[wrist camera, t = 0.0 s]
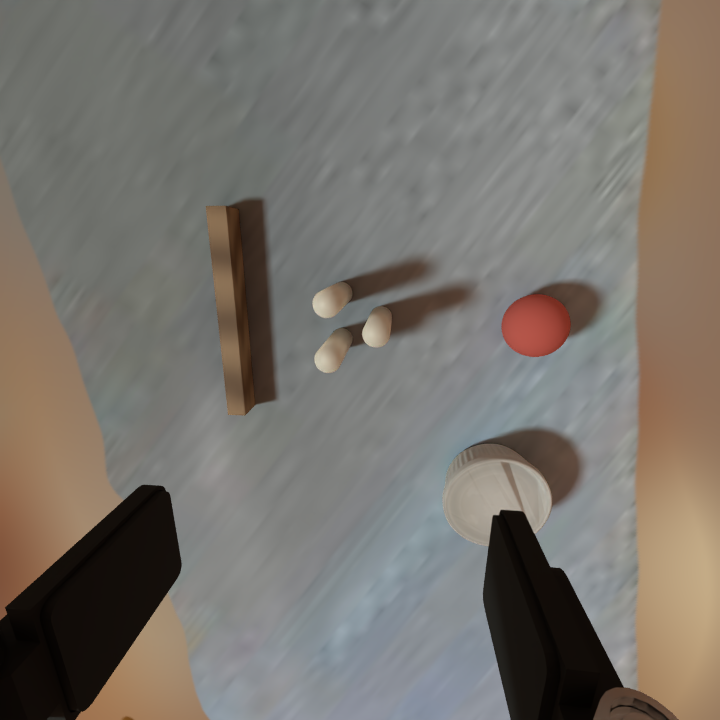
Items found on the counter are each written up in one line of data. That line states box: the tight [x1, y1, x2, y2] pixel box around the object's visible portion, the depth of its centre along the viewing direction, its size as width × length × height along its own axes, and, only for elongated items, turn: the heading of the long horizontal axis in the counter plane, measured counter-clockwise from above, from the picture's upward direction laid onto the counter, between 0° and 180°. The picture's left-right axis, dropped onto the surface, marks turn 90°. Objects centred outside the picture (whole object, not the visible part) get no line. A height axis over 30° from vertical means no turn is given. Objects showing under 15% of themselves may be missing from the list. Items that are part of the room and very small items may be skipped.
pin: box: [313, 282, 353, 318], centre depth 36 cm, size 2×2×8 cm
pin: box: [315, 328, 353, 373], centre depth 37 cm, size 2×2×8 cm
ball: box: [502, 294, 571, 357], centre depth 36 cm, size 6×6×6 cm
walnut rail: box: [206, 206, 255, 415], centre depth 40 cm, size 22×2×3 cm, turn 0°
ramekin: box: [443, 444, 552, 546], centre depth 42 cm, size 11×11×5 cm
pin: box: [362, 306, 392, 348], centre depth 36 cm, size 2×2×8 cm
